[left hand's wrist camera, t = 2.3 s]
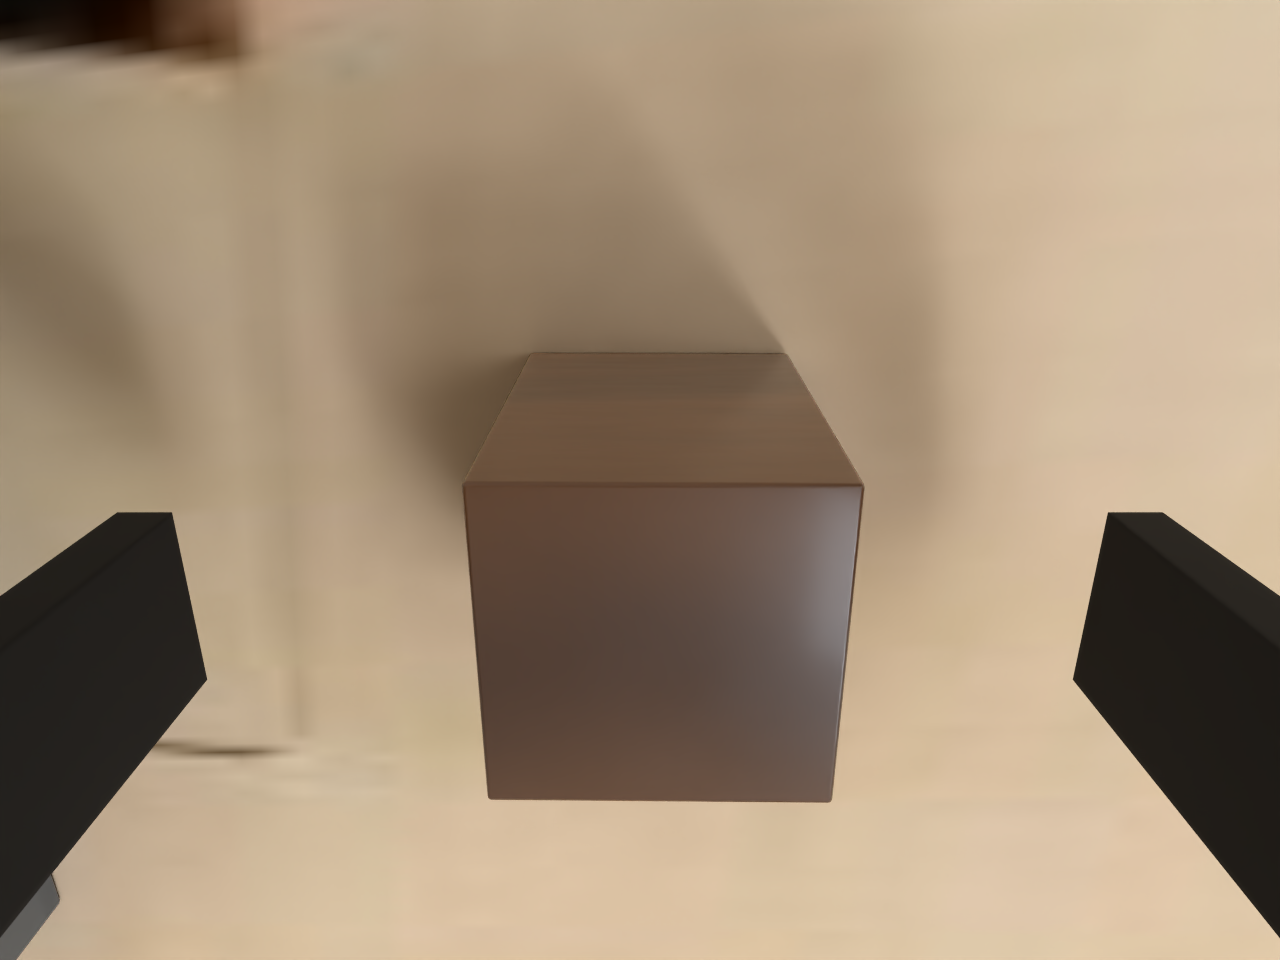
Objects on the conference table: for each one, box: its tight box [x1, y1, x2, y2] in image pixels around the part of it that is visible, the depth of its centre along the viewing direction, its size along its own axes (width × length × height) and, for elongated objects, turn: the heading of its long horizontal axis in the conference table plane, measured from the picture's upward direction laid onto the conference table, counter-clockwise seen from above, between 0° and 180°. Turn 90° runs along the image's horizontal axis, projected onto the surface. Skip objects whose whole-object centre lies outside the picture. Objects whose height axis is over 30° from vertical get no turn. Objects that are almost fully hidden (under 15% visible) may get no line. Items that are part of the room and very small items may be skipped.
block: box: [462, 353, 865, 803], centre depth 13 cm, size 4×4×6 cm
